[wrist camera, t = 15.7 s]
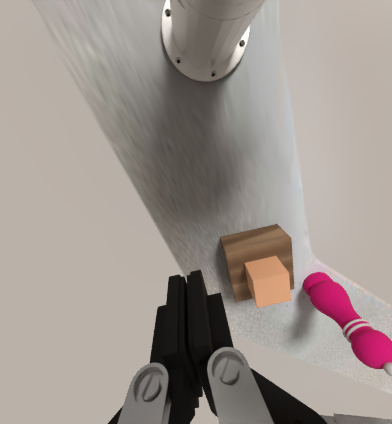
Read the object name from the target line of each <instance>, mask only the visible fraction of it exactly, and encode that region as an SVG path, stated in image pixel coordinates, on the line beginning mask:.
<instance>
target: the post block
mask: <svg viewBox="0 0 392 424" xmlns="http://www.w3.org/2000/svg"><path fill="white" fill-rule="evenodd" d="M221 242H222V247H223V252H224V256H225V261H226V266H227V271H228V275H229V280H230V284H231V287H232V290H233V294H234V297H235V300H236V302H238V301H242V300H247V299H251V298H253V297H252V294H251V292H250V290H249V287H248V281H247V275H246V269H245V263H246V262H251V261H255V260H260V259H264V258H268V257H273V256H277V258H278V259H279V260H280V262H281V263H282V264H283V266H284V267H285V268H286V270H287V271H288V272H289V279H290V290H292V289H294V276H293V259H292V242H291V237H290V236H289V235H288V234H287V233H286V232H285V231H284V230H283V229H281V228H280V227H279V226H278V225H277V224H275V225H271V226H267V227H262V228H258V229H254V230H249V231H245V232H241V233H236V234H232V235H228V236H223V237H221Z"/></svg>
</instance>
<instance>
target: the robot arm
mask: <svg viewBox="0 0 392 424" xmlns="http://www.w3.org/2000/svg"><path fill="white" fill-rule="evenodd" d="M264 2H265V0H165V3H164V6H163V11H162V18H161V31H162V38H163V42H164V46H165V49H166V52H167V54H168V57H169V58H170V60H171V61H172V63H173V65H174V66H175V67H176V68H177V69H178V70H179V71H180V72H181V73H182V74H184V75H185V76H186V77H188V78H190V79H192V80H196V81H200V82H210V81H216V80H218V79H220V78H223V77H224V76H226V75H227V74H228V73H230V72H231V71H232V70H233V69H234V68H235V67H236V65H237V64H238V63H239V61H240V60H241V58H242V56H243V54H244V52H245V50H246V47H247V44H248V39H249V34H250V24H251V22H252V21H253V19H254V18H255V16H256V14H257V13H258V11H259V10H260V8H261V7H262V5H263V3H264ZM167 14H169V15H170V17H167ZM239 44H241V45H242V47H240V46H239ZM177 60H179V61H180V63H177ZM212 73H214V77H213V76H212V75H211V74H212ZM202 387H203V390H204V392H205V395H206V398H207V400H208V403H209V406H210V409H211V411H212V412H213V413H214V414H215V415H216V416H217V417H218V419H219V423H220V424H392V419H382V418H372V417H361V416H351V415H342V414H334V417H333V416H323V415H319V414H318V413H316V412H315V411H314V410H312V409H311V408H309V407H308V406H306V405H305V404H303V403H302V402H300V401H299V400H297V399H296V398H294V397H293V396H291V395H290V394H288V393H287V392H286V391H284V390H283V389H281V388H280V387H278V386H277V385H275V384H274V383H272V382H271V381H269V380H268V379H266V378H265V377H263V376H262V375H260V374H259V373H257V372H256V371H254V370H253V369H251V368H250V367H249V365H248V362H247V360H246V358H245V357H244V355H243V354H242V353H241V352H240V351H239V350H237V349H235V348H234V347H233V343H232V339H231V334H230V330H229V326H228V321H227V317H226V313H225V309H224V304H223V300H222V296H221V293H217V294H213V295H208V294H207V291H206V287H205V283H204V280H203V276H202V272H201V270H197V271H192V272H190V275H188V276H187V283H186V280H185V277H184V276H183V277H181V276H180V275H175V276H170V277H169V281H168V292H167V302H166V305H164V306H160V307H158V309H157V315H156V322H155V329H154V336H153V343H152V350H151V357H150V364H147V365H145V366H144V367H142V368H141V369H140V370H139V371H138V372H137V373H136V375H135V376H134V377H133V379H132V382H131V384H130V387H129V390H128V393H127V396H126V399H125V402H124V405H123V406H122V408H121V409H120V410H119V411H118V412H117V413H116V415H115V416H114V417H113V418H112V419H111V421H110V422H109V423H108V424H190V422H191V420H192V419H193V417H194V416H195V408H198V407H199V398H198V397H202V396H203V390H202Z"/></svg>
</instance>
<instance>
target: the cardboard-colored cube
mask: <svg viewBox="0 0 392 424" xmlns="http://www.w3.org/2000/svg"><path fill="white" fill-rule="evenodd" d="M245 269H246V275H247V281H248V287H249V290H250V292H251V294H252V297H253V299H254V301H255V304H256V306H257V308H258V307H263V306H267V305H272V304H277V303H281V302H286V301H290V300H291V294H290V279H289V272H288V271H287V270H286V268H285V267H284V266H283V264H282V263H281V262H280V260H279V259H278V258H277V256H273V257H268V258H264V259H260V260H255V261H251V262H246V263H245Z"/></svg>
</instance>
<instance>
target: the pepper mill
mask: <svg viewBox="0 0 392 424" xmlns="http://www.w3.org/2000/svg"><path fill="white" fill-rule="evenodd" d="M303 287H304V290H305V291H306V292H307V294H308V295H309V296H310V300H311V302H312V304H313V305H314V306H315V307H316V308H317V309H318V310H319V311H320V312H322V313H323V314H325V315H327V316H329V317H330V318H332V319H333V320H335V321H336V322H337V323H338V325H339V326H340V327H341V328H342V330H343V335H344V337H346V339H347V340H348V342H350V343H351V347H352V350H353V352H354V354H355V355H356V357H357V358H358V359H359V360H360V361H361V362H362V363H364V364H365V365H367V366H369V367H371V368H374V369H384V370H385V371H386V373H387V374H389V375H390V376H392V341H391V340H390V339H389V338H388V337H387V336H386V335H385V334H383V333H382V332H380V331H377V330H375V328H374V327H373V326H372V325H371V324H370V323H369V321H367V320H365V319H362V318H361V317H360V316H359V315H358V314H357V313H356V312H355V310H354V309H353V307H352V305H351V302H350V299H349V296H348V294H347V293H346V291H345V290H344V288H343V287H342V286H341V285H340V284H338V283H336V282H333V281H332V279H331V278H330V277H329V276H328V275H327V274H325V273H321V272H317V273H313V274H311V275H310V276H308V277H307V278H306V279H305V281H304V284H303Z"/></svg>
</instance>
